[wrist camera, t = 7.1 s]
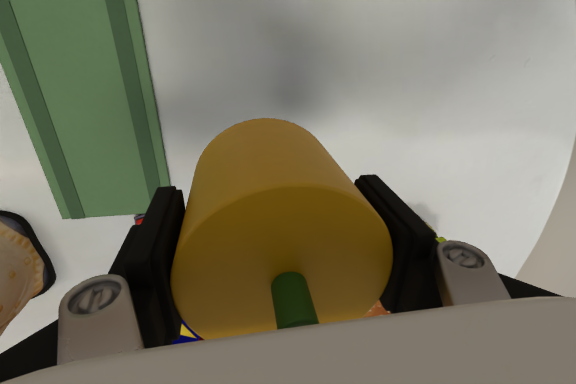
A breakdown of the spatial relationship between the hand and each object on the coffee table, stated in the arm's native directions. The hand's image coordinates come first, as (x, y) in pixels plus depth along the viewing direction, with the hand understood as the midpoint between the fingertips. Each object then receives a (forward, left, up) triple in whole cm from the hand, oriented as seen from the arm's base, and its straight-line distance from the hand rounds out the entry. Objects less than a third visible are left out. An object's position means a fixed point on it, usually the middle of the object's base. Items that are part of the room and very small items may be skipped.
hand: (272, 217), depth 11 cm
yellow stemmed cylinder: (0, 0, -3) cm, 3 cm away
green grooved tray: (0, -13, -18) cm, 22 cm away
